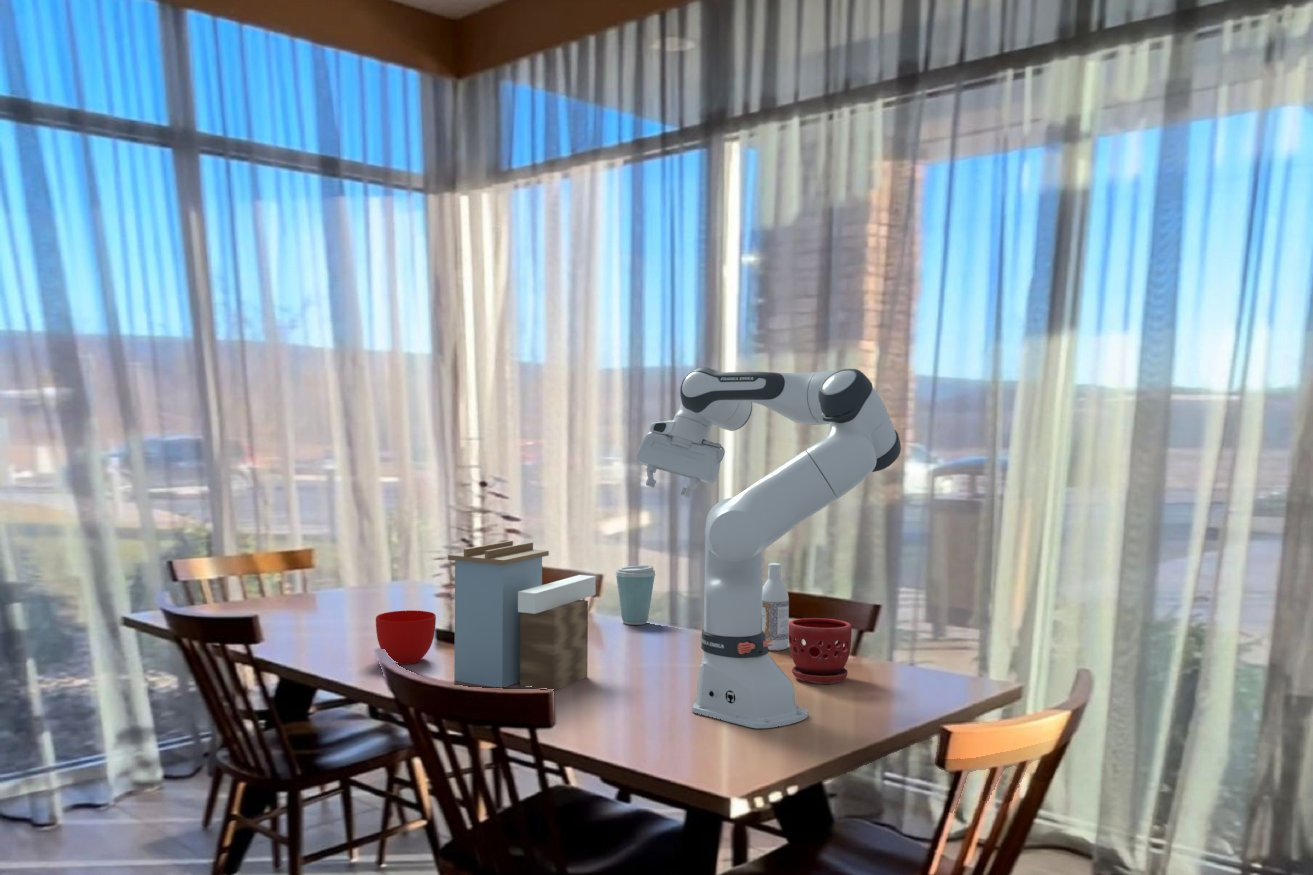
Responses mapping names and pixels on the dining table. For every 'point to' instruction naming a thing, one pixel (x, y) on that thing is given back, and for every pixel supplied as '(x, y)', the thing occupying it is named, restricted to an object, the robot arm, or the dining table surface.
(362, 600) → the dining table surface
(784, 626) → the bath foam
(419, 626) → the ceramic cup
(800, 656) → the plant pot
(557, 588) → the white beam
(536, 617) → the walnut block
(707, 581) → the robot arm
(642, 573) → the disposable coffee cup
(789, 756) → the dining table surface
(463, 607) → the cabinet
